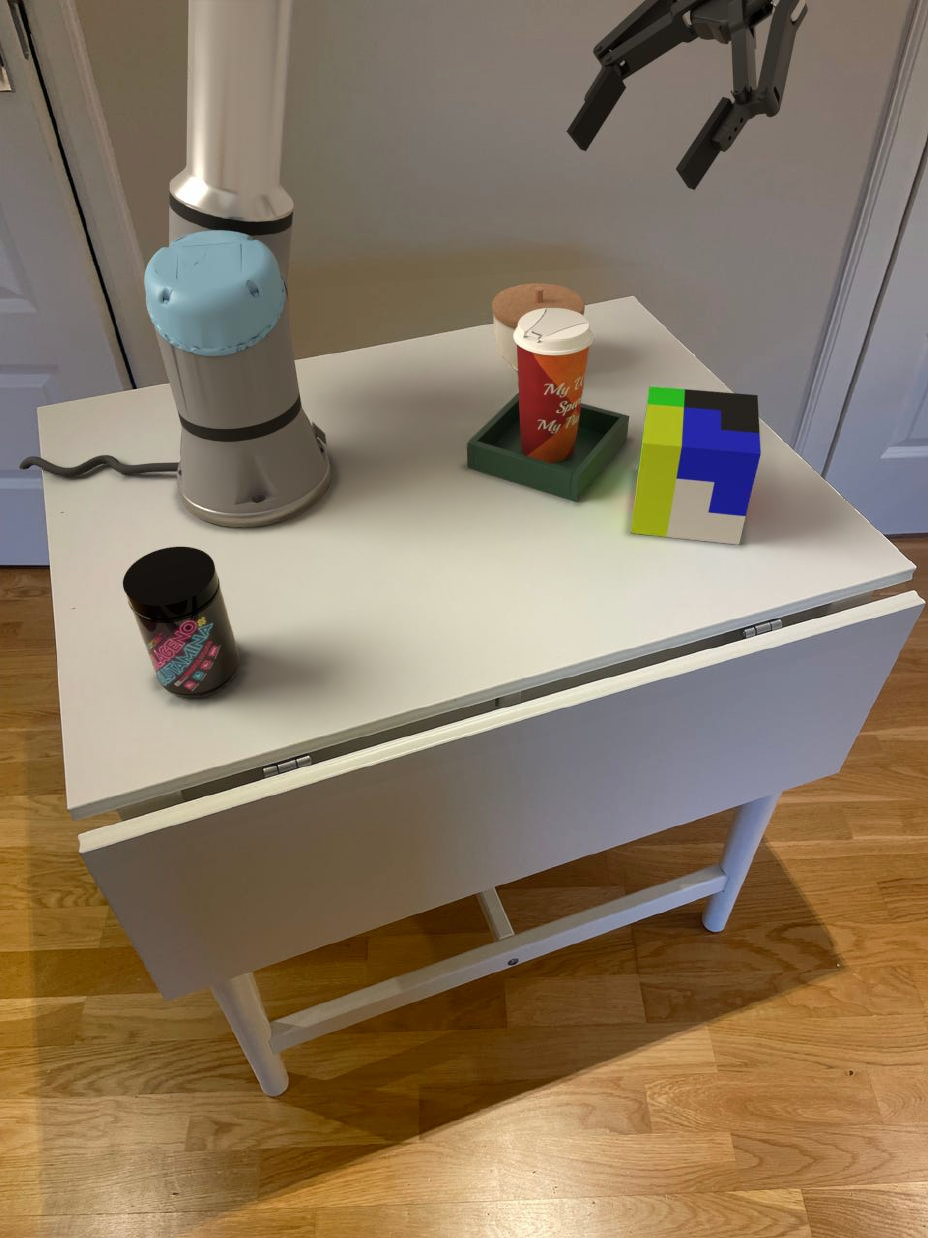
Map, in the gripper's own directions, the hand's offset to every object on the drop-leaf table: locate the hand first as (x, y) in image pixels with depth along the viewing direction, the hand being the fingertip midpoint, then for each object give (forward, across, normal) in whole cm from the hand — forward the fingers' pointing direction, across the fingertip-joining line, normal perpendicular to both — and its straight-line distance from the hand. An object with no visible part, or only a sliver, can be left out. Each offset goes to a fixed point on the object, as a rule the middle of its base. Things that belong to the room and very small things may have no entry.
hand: (627, 159), depth 80 cm
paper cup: (+24, 0, -14) cm, 28 cm away
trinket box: (+17, +16, -23) cm, 32 cm away
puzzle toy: (+22, -15, -18) cm, 32 cm away
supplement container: (+55, -6, +16) cm, 58 cm away
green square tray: (+25, 0, -14) cm, 29 cm away
